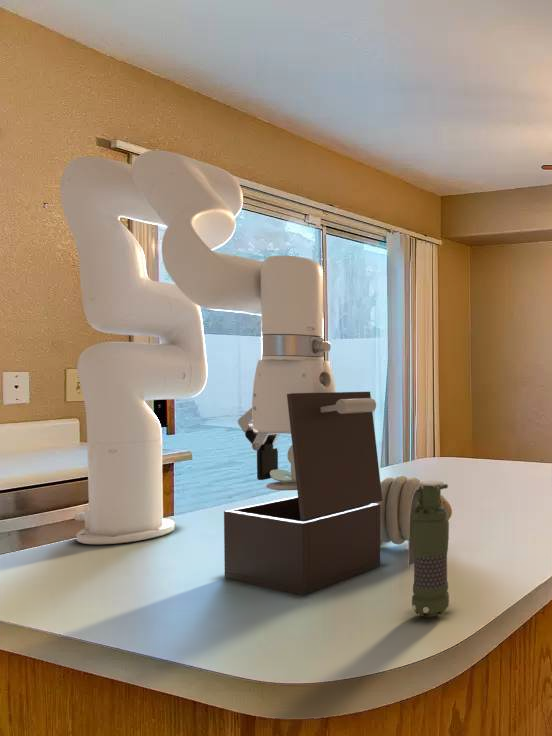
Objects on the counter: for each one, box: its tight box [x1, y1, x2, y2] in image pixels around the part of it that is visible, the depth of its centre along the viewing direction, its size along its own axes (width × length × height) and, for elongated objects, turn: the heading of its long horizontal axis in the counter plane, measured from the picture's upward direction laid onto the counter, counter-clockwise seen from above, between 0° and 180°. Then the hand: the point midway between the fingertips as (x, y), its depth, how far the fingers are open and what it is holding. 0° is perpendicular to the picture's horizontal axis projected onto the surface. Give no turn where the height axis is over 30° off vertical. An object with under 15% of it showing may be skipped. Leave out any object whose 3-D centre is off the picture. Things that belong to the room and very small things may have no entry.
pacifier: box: [265, 444, 297, 491], centre depth 81 cm, size 7×6×6 cm
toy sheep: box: [375, 475, 453, 545], centre depth 93 cm, size 11×17×11 cm, turn 98°
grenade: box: [408, 480, 450, 618], centre depth 66 cm, size 4×4×15 cm
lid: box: [287, 391, 382, 520], centre depth 76 cm, size 15×13×5 cm
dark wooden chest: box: [223, 495, 381, 596], centre depth 80 cm, size 15×13×9 cm
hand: (293, 478), depth 81 cm, fingers closed on pacifier, 7 cm apart
